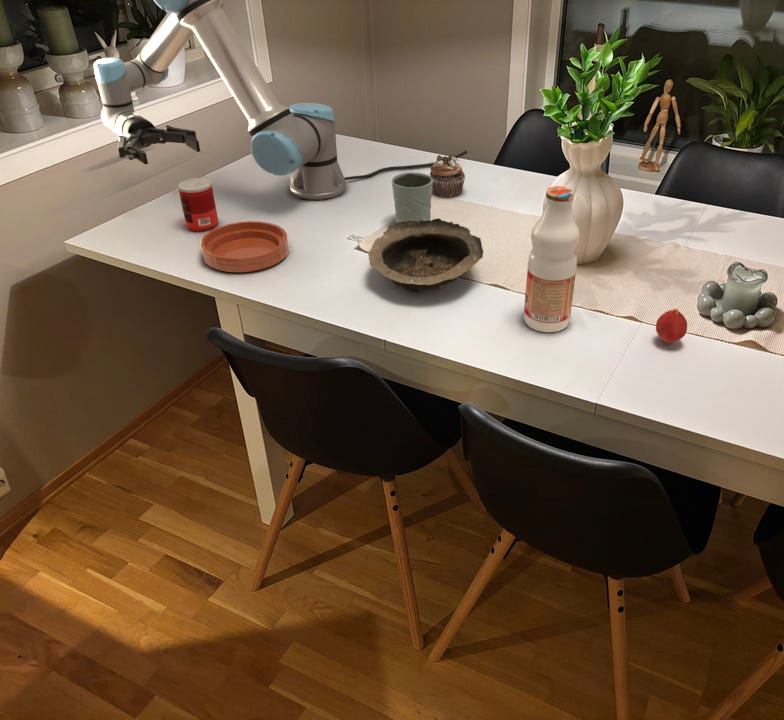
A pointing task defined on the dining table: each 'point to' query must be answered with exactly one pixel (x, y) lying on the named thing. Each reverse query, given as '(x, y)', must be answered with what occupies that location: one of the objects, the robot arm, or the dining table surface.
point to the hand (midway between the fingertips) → (172, 152)
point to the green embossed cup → (412, 196)
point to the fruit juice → (552, 264)
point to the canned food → (198, 204)
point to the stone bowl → (425, 253)
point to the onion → (671, 326)
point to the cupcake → (447, 177)
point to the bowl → (244, 246)
